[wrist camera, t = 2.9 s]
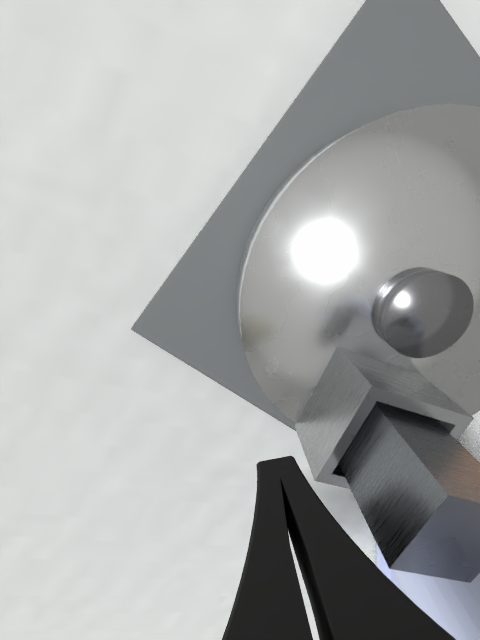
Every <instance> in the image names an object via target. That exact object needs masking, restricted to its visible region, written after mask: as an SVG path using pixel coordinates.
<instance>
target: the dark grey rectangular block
mask: <svg viewBox="0 0 480 640" xmlns="http://www.w3.org/2000/svg"><path fill="white" fill-rule="evenodd" d="M338 464H339V466H340V468H341V470H342V472H343V474H344V476H345V478H346V480H347V482H348V484H349V486H350V489H351V491H352V493H353V495H354V497H355V499H356V501H357V503H358V505H359V507H360V509H361V511H362V513H363V515H364V518H365V520H366V522H367V524H368V526H369V528H370V530H371V532H372V534H373V536H374V538H375V540H376V542H377V544H378V547H379V549H380V551H381V553H382V555H383V557H384V559H385V561H386V563H387V565H388V567H389V569H393V570H399V571H404V572H410V573H416V574H422V575H427V576H433V577H439V578H445V579H450V580H456V581H462V582H468V583H471V582H472V581H473V580H474V579H475V578H476V576H477V575H478V574H479V573H480V463H479V462H478V461H477V460H476V459H475V458H474V457H473V456H472V455H471V454H470V453H469V452H468V451H467V450H466V449H465V448H464V447H463V446H462V445H461V444H460V443H459V442H458V441H457V440H456V439H455V438H454V437H453V436H452V435H451V434H450V433H449V432H448V431H447V430H446V429H445V428H443V427H442V426H441V425H440V424H439V423H438V422H437V421H436V420H435V419H434V418H431V417H428V416H425V415H421V414H418V413H415V412H411V411H408V410H405V409H402V408H398V407H395V406H392V405H389V404H385V403H382V402H379V401H377V402H376V403H375V405H374V407H373V408H372V410H371V411H370V413H369V415H368V416H367V418H366V419H365V421H364V423H363V424H362V426H361V428H360V429H359V431H358V432H357V434H356V436H355V437H354V439H353V440H352V442H351V444H350V445H349V447H348V448H347V450H346V452H345V453H344V455H343V456H342V458H341V460H340V461H339V463H338Z"/></svg>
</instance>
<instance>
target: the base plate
mask: <svg viewBox="0 0 480 640" xmlns="http://www.w3.org/2000/svg"><path fill="white" fill-rule="evenodd" d="M440 104H460V105H473V106H479V107H480V57H479V55H478V54H477V53H476V51H475V50H474V48H473V47H472V46H471V44H470V43H469V41H468V40H467V38H466V37H465V36H464V34H463V33H462V31H461V30H460V28H459V27H458V26H457V24H456V23H455V21H454V20H453V19H452V17H451V16H450V14H449V13H448V11H447V10H446V9H445V7H444V6H443V4H442V3H441V2H440V0H366V1H365V3H364V4H363V5H362V7H361V8H360V10H359V11H358V12H357V14H356V15H355V17H354V18H353V19H352V21H351V22H350V24H349V25H348V26H347V28H346V29H345V31H344V32H343V33H342V35H341V36H340V38H339V39H338V40H337V42H336V43H335V45H334V46H333V47H332V49H331V50H330V52H329V53H328V54H327V56H326V57H325V58H324V60H323V61H322V63H321V64H320V65H319V67H318V68H317V70H316V71H315V72H314V74H313V75H312V77H311V78H310V79H309V81H308V82H307V84H306V85H305V86H304V88H303V89H302V91H301V92H300V93H299V95H298V96H297V98H296V99H295V100H294V102H293V103H292V105H291V106H290V107H289V109H288V110H287V112H286V113H285V114H284V116H283V117H282V119H281V120H280V121H279V123H278V124H277V126H276V127H275V128H274V130H273V131H272V132H271V134H270V135H269V137H268V138H267V139H266V141H265V142H264V144H263V145H262V146H261V148H260V149H259V151H258V152H257V153H256V155H255V156H254V158H253V159H252V160H251V162H250V163H249V165H248V166H247V167H246V169H245V170H244V172H243V173H242V174H241V176H240V177H239V179H238V180H237V181H236V183H235V184H234V186H233V187H232V188H231V190H230V191H229V193H228V194H227V195H226V197H225V198H224V200H223V201H222V202H221V204H220V205H219V206H218V208H217V209H216V211H215V212H214V213H213V215H212V216H211V218H210V219H209V220H208V222H207V223H206V225H205V226H204V227H203V229H202V230H201V232H200V233H199V234H198V236H197V237H196V239H195V240H194V241H193V243H192V244H191V246H190V247H189V248H188V250H187V251H186V253H185V254H184V255H183V257H182V258H181V260H180V261H179V262H178V264H177V265H176V267H175V268H174V269H173V271H172V272H171V274H170V275H169V276H168V278H167V279H166V281H165V282H164V283H163V285H162V286H161V287H160V289H159V290H158V292H157V293H156V294H155V296H154V297H153V299H152V300H151V301H150V303H149V304H148V306H147V307H146V308H145V310H144V311H143V313H142V314H141V315H140V317H139V318H138V320H137V321H136V322H135V324H134V325H133V327H132V328H131V330H133V331H134V332H136V333H138V334H139V335H141V336H143V337H144V338H146V339H147V340H149V341H151V342H152V343H154V344H156V345H157V346H159V347H160V348H162V349H164V350H165V351H167V352H169V353H170V354H172V355H173V356H175V357H177V358H178V359H180V360H182V361H183V362H185V363H186V364H188V365H190V366H191V367H193V368H195V369H196V370H198V371H199V372H201V373H203V374H204V375H206V376H208V377H209V378H211V379H212V380H214V381H216V382H217V383H219V384H221V385H222V386H224V387H225V388H227V389H229V390H230V391H232V392H233V393H235V394H237V395H238V396H240V397H242V398H243V399H245V400H246V401H248V402H250V403H251V404H253V405H255V406H256V407H258V408H259V409H261V410H263V411H264V412H266V413H268V414H269V415H271V416H272V417H274V418H276V419H277V420H279V421H281V422H282V423H284V424H285V425H287V426H289V427H290V428H292V429H294V430H295V431H296V428H295V424H296V423H295V422H294V421H292V420H291V419H289V418H288V417H287V416H286V415H284V414H283V413H282V412H281V411H280V410H279V409H278V408H277V407H276V406H274V404H273V403H272V402H271V401H270V399H269V398H268V397H267V396H266V395H265V393H264V392H263V391H262V389H261V387H260V386H259V384H258V382H257V381H256V379H255V377H254V375H253V373H252V370H251V368H250V365H249V363H248V361H247V358H246V354H245V350H244V346H243V342H242V337H241V333H240V328H239V324H238V316H237V306H236V294H237V279H238V273H239V268H240V262H241V259H242V255H243V252H244V249H245V246H246V243H247V240H248V238H249V235H250V233H251V231H252V229H253V227H254V224H255V222H256V220H257V218H258V217H259V215H260V213H261V212H262V210H263V209H264V207H265V205H266V204H267V202H268V200H269V199H270V198H271V196H272V195H273V194H274V193H275V191H276V190H277V189H278V188H279V186H280V185H281V184H282V183H283V181H284V180H285V179H286V178H287V177H288V176H289V175H290V174H291V173H292V172H293V171H294V170H295V169H296V168H297V167H299V166H300V165H301V164H302V163H303V162H304V161H305V160H307V159H308V158H309V157H311V156H312V155H313V154H315V153H316V152H317V151H319V150H320V149H321V148H323V147H324V146H326V145H328V144H330V143H331V142H333V141H335V140H337V139H338V138H340V137H342V136H344V135H346V134H348V133H350V132H352V131H354V130H356V129H358V128H360V127H362V126H364V125H366V124H368V123H370V122H373V121H375V120H378V119H380V118H383V117H385V116H388V115H390V114H393V113H395V112H400V111H404V110H408V109H412V108H416V107H421V106H428V105H440Z"/></svg>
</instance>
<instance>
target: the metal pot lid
mask: <svg viewBox="0 0 480 640" xmlns="http://www.w3.org/2000/svg"><path fill="white" fill-rule="evenodd" d="M236 306H237V316H238V324H239V328H240V333H241V337H242V342H243V346H244V350H245V354H246V358H247V361H248V363H249V365H250V368H251V370H252V373H253V375H254V377H255V379H256V381H257V382H258V384H259V386H260V387H261V389H262V391H263V392H264V393H265V395H266V396H267V397H268V398H269V399H270V401H271V402H272V403H273V404H274V406H276V407H277V408H278V409H279V410H280V411H281V412H282V413H283V414H284V415H286V416H287V417H288V418H289V419H291V420H292V421H294V422H295V423H296V424H295V428H296V431H297V434H298V436H299V439H300V442H301V444H302V447H303V450H304V453H305V455H306V458H307V461H308V463H309V466H310V469H311V472H312V474H313V477H314V480H315V481H318V482H323V483H327V484H331V485H336V486H340V487H344V488H349V489H350V486H349V484H348V482H347V480H346V478H345V476H344V474H343V472H342V470H341V468H340V466H339V464H338V463H339V461H340V460H341V458H342V456H343V455H344V453H345V452H346V450H347V448H348V447H349V445H350V444H351V442H352V440H353V439H354V437H355V436H356V434H357V432H358V431H359V429H360V428H361V426H362V424H363V423H364V421H365V419H366V418H367V416H368V415H369V413H370V411H371V410H372V408H373V407H374V405H375V403H376V402H377V401H379V402H382V403H385V404H389V405H392V406H395V407H398V408H402V409H405V410H408V411H411V412H415V413H418V414H421V415H425V416H428V417H431V418H434V419H435V420H436V421H437V422H438V423H439V424H440V425H441V426H442V427H443V428H445V429H446V430H447V431H448V432H449V433H450V434H451V435H452V436H453V437H454V438H455V439H456V440H458V438H459V437H460V436H461V434H462V433H463V432H464V430H465V429H466V428H467V426H468V425H469V424H470V422H471V421H472V420H473V417H472V415H473V414H475V413H477V412H478V411H480V107H479V106H473V105H460V104H440V105H428V106H421V107H416V108H412V109H408V110H404V111H400V112H395V113H393V114H390V115H388V116H385V117H383V118H380V119H378V120H375V121H373V122H370V123H368V124H366V125H364V126H362V127H360V128H358V129H356V130H354V131H352V132H350V133H348V134H346V135H344V136H342V137H340V138H338V139H337V140H335V141H333V142H331V143H330V144H328V145H326V146H324V147H323V148H321V149H320V150H319V151H317V152H316V153H315V154H313V155H312V156H311V157H309V158H308V159H307V160H305V161H304V162H303V163H302V164H301V165H300V166H299V167H297V168H296V169H295V170H294V171H293V172H292V173H291V174H290V175H289V176H288V177H287V178H286V179H285V180H284V181H283V183H282V184H281V185H280V186H279V188H278V189H277V190H276V191H275V193H274V194H273V195H272V196H271V198H270V199H269V200H268V202H267V204H266V205H265V207H264V209H263V210H262V212H261V213H260V215H259V217H258V218H257V220H256V222H255V224H254V227H253V229H252V231H251V233H250V235H249V238H248V240H247V243H246V246H245V249H244V252H243V255H242V259H241V262H240V268H239V273H238V279H237V294H236Z"/></svg>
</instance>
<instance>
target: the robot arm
mask: <svg viewBox="0 0 480 640" xmlns="http://www.w3.org/2000/svg"><path fill="white" fill-rule="evenodd" d="M288 531H289V534H290V538H291V541H292V544H293V547H294V551H295V554H296V557H297V560H298V564H299V567H300V570H301V573H302V577H303V580H304V583H305V586H306V590H307V593H308V596H309V599H310V603H311V606H312V610H313V614H314V617H315V622H316V626H317V630H318V634H319V639H320V640H480V573H479V574H478V575H477V576H476V578H475V579H474V580H473V581H472V582H471V583H468V582H462V581H456V580H450V579H445V578H439V577H433V576H427V575H422V574H416V573H410V572H404V571H399V570H393V569H389V567H388V565H387V563H386V561H385V559H384V557H383V555H382V553H381V551H380V549H379V547H378V544H377V542H376V565H375V564H374V563H373V562H372V561H371V560H370V559H369V558H368V557H367V556H366V555H365V554H364V553H363V551H362V550H361V549H360V548H359V547H358V546H357V545H356V544H355V543H354V541H353V540H352V539H351V538H350V537H349V536H348V535H347V533H346V532H345V531H344V530H343V529H342V527H341V526H340V525H339V524H338V522H337V521H336V520H335V519H334V517H333V516H332V515H331V514H330V512H329V511H328V510H327V508H326V507H325V506H324V504H323V503H322V502H321V500H320V499H319V497H318V496H317V495H316V493H315V492H314V490H313V489H312V487H311V486H310V484H309V483H308V481H307V480H306V478H305V477H304V475H303V473H302V472H301V470H300V468H299V466H298V464H297V463H296V461H295V458H294V457H292V456H287V457H282V458H277V459H272V460H266V461H261V462H259V463H258V464H257V495H256V504H255V512H254V520H253V526H252V531H251V537H250V542H249V547H248V552H247V556H246V561H245V565H244V569H243V573H242V577H241V580H240V584H239V588H238V591H237V595H236V598H235V602H234V605H233V608H232V611H231V615H230V618H229V621H228V624H227V627H226V630H225V632H224V635H223V638H222V640H313V638H312V634H311V630H310V626H309V622H308V618H307V614H306V610H305V606H304V602H303V597H302V593H301V589H300V585H299V581H298V577H297V573H296V569H295V564H294V560H293V556H292V552H291V548H290V542H289V535H288Z"/></svg>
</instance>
